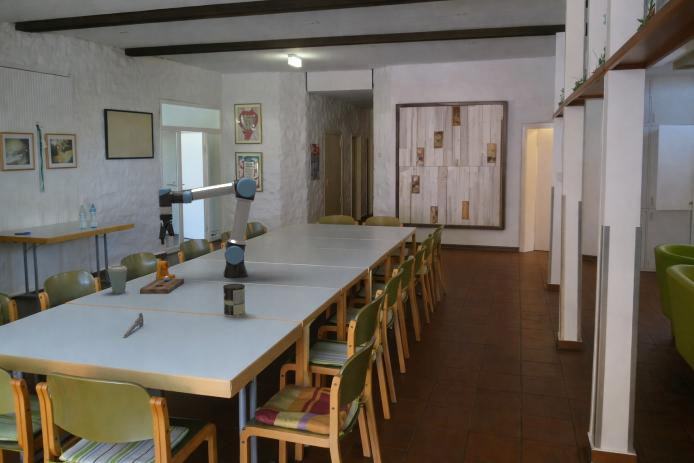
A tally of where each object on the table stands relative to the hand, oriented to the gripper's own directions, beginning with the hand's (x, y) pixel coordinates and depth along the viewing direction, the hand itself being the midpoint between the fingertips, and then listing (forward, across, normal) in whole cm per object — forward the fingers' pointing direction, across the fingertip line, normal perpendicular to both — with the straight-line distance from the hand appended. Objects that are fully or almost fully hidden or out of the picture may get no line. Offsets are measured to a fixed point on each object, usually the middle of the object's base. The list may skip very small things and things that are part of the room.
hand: (167, 248), depth 366 cm
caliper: (+22, +106, +21) cm, 110 cm away
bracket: (+21, -8, -4) cm, 23 cm away
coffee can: (+22, +75, +58) cm, 97 cm away
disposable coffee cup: (+21, +30, -19) cm, 41 cm away
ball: (+17, +9, +2) cm, 19 cm away
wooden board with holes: (+21, +16, +2) cm, 27 cm away
